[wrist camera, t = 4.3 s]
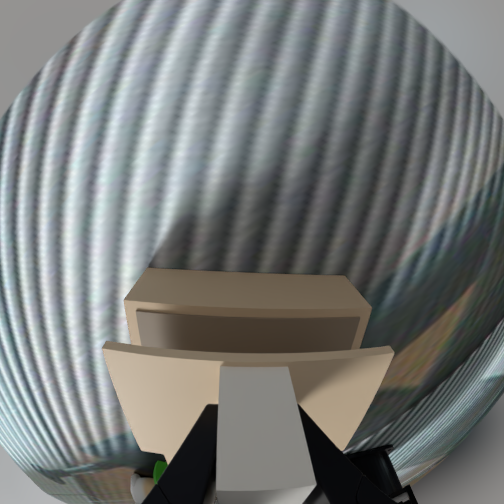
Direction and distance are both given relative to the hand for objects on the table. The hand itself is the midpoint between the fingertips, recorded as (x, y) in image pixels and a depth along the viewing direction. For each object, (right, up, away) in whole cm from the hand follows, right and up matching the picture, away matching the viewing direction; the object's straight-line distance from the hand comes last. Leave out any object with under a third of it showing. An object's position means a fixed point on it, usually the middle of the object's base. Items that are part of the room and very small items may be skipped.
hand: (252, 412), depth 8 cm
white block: (0, -1, +1) cm, 2 cm away
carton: (-1, -3, +8) cm, 9 cm away
